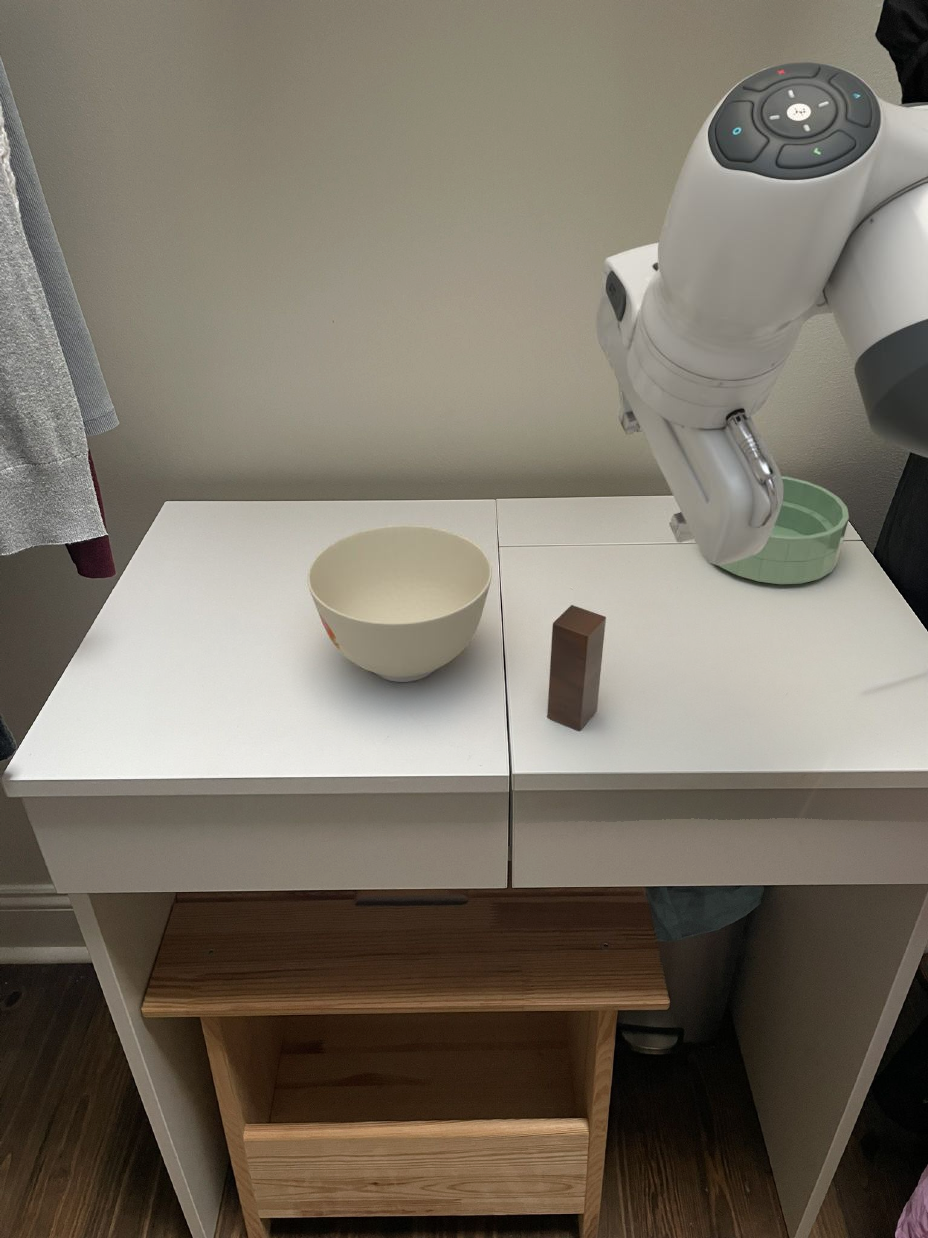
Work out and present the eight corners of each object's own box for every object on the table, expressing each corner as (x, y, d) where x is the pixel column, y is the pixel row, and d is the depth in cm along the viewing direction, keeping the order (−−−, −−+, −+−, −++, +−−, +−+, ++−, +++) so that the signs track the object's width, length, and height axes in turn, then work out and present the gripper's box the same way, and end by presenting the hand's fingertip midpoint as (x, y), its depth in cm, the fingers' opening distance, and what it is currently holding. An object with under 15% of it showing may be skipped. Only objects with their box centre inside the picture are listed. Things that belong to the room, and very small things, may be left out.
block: (597, 711, 82) (606, 616, 76) (579, 731, 80) (587, 636, 74) (564, 698, 83) (571, 604, 78) (546, 718, 81) (552, 623, 75)
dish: (864, 572, 100) (878, 522, 97) (752, 600, 96) (762, 549, 92) (780, 512, 111) (790, 465, 107) (676, 535, 107) (683, 487, 103)
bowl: (505, 708, 82) (508, 613, 77) (320, 727, 80) (309, 632, 75) (475, 605, 95) (475, 518, 89) (315, 620, 93) (305, 532, 87)
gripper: (835, 481, 52) (758, 588, 65) (685, 217, 60) (643, 359, 73) (732, 511, 51) (674, 614, 64) (593, 239, 59) (566, 379, 72)
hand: (656, 477), depth 68 cm, fingers open, 8 cm apart
